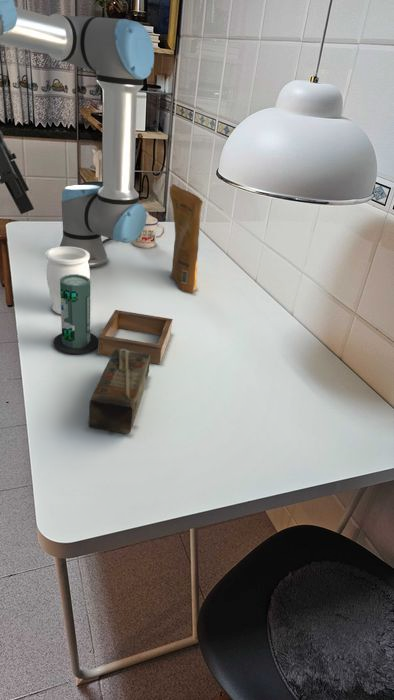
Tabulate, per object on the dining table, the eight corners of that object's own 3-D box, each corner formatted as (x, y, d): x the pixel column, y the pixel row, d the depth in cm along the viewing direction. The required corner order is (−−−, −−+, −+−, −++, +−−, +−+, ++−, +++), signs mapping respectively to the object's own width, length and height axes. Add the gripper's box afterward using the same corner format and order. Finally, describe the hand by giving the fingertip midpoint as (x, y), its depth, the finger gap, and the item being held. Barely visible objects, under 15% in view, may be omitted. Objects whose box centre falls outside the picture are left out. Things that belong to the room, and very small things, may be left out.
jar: (79, 321, 117) (79, 264, 109) (40, 313, 118) (37, 256, 110) (96, 304, 126) (96, 250, 118) (59, 297, 127) (57, 243, 119)
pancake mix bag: (180, 296, 136) (191, 198, 122) (161, 271, 151) (168, 181, 137) (202, 295, 139) (214, 199, 124) (180, 270, 153) (190, 182, 139)
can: (61, 335, 109) (59, 274, 101) (88, 333, 111) (87, 274, 103) (63, 348, 104) (61, 286, 96) (91, 347, 106) (91, 285, 98)
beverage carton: (150, 376, 100) (152, 350, 96) (131, 437, 83) (133, 407, 80) (113, 371, 100) (113, 344, 96) (87, 430, 83) (86, 400, 80)
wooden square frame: (114, 325, 117) (115, 309, 115) (171, 334, 116) (172, 318, 114) (97, 354, 105) (97, 337, 103) (160, 364, 104) (161, 347, 102)
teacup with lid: (133, 248, 167) (134, 215, 161) (129, 239, 174) (130, 207, 168) (166, 248, 170) (169, 216, 164) (161, 240, 178) (163, 209, 172)
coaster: (63, 329, 112) (63, 327, 112) (104, 336, 112) (104, 334, 112) (46, 350, 104) (46, 348, 103) (90, 358, 103) (91, 355, 103)
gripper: (-48, 90, 94) (6, 191, 107) (-57, 107, 75) (10, 228, 88) (-12, 77, 95) (37, 179, 108) (-12, 91, 76) (48, 213, 89)
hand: (25, 201), depth 98 cm, fingers open, 13 cm apart
